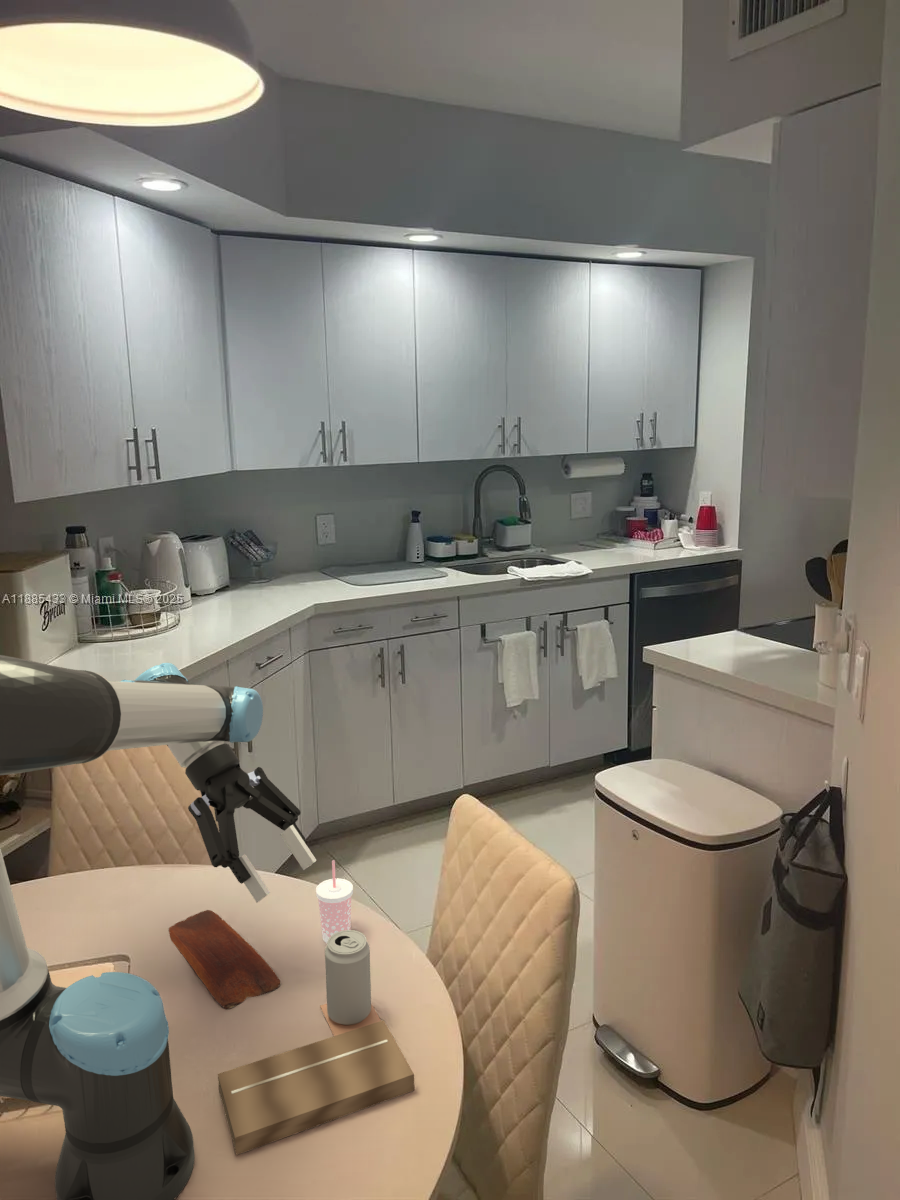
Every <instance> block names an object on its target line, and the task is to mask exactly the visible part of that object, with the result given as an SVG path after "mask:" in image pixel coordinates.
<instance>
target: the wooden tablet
mask: <svg viewBox="0 0 900 1200" xmlns="http://www.w3.org/2000/svg"><path fill="white" fill-rule="evenodd" d="M168 934H169V938H170V941H171V942H172V943H173V945H174V946H175V947H176V948H177V950H178V951H179V952H180V954H181V955H182V957H184V958H185V960H186V961H187V963H188V964H189V966H190V967H191V968H192V969H193V971H194V972H195V974H196V975H197V976H198V978H199V979H200V980H201V982H202V983H203V985H204V986H205V987H206V989H207V990H208V992H209V994H210V995H211V996H212V998H213V999H214V1000H215V1001H216V1002H217V1003H218V1004H219V1006H221V1007H222V1008H223V1009H225V1010H228V1009H232V1008H234V1007H236V1006H238V1005H240V1004H242V1003H244V1001H245V1000H246V999H247V998H255V997H256V998H257V997H259V996H263V995H266V994H270V993H271V992H273V991H275V990H277V989H278V988H279V987H280V986H281V980H280V978H279V976H277V974H276V972H275V971H274V970H273V968H272V967H271V966H270V965H269V964H268V962H266V961H265V959H264V958H263V956H261V955H260V954H259V953H258V952H257V950H256V949H255V948H254V947H253V946H252V945H251V944H249V942H247V941H246V940H245V939H244V938H243V936H241V935H240V934H239V933H238V932H237V931H236V929H233V927H231V925H230V924H228V922H226V920H224V919H223V918H222V917H221V916H220V915H219V914H217V913H216V912H214V911H213V910H210V909H206V910H202V911H200V912H198V913H196V914H193V915H191V916H188V917H186V919H183V920H181V921H178V922H176V923H175V924H173V925H171V926H170V927H169V928H168Z"/></svg>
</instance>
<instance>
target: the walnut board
mask: <svg viewBox="0 0 900 1200" xmlns="http://www.w3.org/2000/svg"><path fill="white" fill-rule="evenodd" d="M409 1064H410V1063H408V1061H407V1059H406V1057H405V1056H404V1054H403V1052H402V1050H401V1049H400V1047H399V1045H398V1042H396V1040H395V1038H394V1036H393V1034H392V1032H391V1031H390V1028H389V1027H388V1025H387V1024H386V1021H385V1020H384V1019H383V1020H381V1021H380V1022H377V1023H373V1024H370V1025H367V1026H364V1027H361V1028H358V1029H355V1030H352V1031H349V1032H346V1033H342V1034H339V1035H336V1036H333V1035H332V1036H330V1037H328V1038H324V1039H321V1040H318V1041H315V1042H312V1043H309V1044H306V1045H303V1046H299V1047H297V1048H293V1049H290V1050H288V1051H283V1052H280V1053H278V1054H275V1055H272V1056H269V1057H266V1058H263V1059H260V1060H256V1061H253V1062H249V1063H247V1064H244V1065H241V1066H238V1067H235V1068H231V1069H227V1070H225V1071H222V1072H219V1073H217V1081H218V1083H217V1084H218V1091H219V1096H220V1100H221V1099H222V1100H221V1102H222V1107H223V1110H224V1114H226V1115H225V1118H226V1121H227V1125H228V1129H229V1130H228V1131H229V1133H230V1137H231V1140H232V1144H233V1148H234V1151H235V1154H236V1156H238V1155H241V1154H243V1153H247V1152H248V1151H252V1150H254V1149H256V1148H260V1147H263V1146H265V1145H268V1144H271V1143H273V1142H277V1141H278V1140H281V1139H282V1140H283V1139H284V1138H287V1137H290V1136H293V1135H295V1134H298V1133H301V1132H303V1131H306V1130H309V1129H313V1128H315V1127H317V1126H320V1125H323V1124H325V1123H326V1124H327V1123H328V1122H331V1121H334V1120H336V1119H339V1118H342V1117H345V1116H348V1115H350V1114H354V1113H355V1112H358V1111H361V1110H362V1111H363V1110H364V1109H366V1108H369V1107H373V1106H375V1105H378V1104H380V1103H381V1104H382V1103H383V1102H386V1101H389V1100H391V1099H395V1098H397V1097H400V1096H402V1095H403V1096H404V1095H405V1094H409V1093H411V1092H413V1091H415V1074H414V1071H413V1070H412V1067H411V1066H410V1065H409Z"/></svg>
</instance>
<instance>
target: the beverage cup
mask: <svg viewBox="0 0 900 1200" xmlns="http://www.w3.org/2000/svg"><path fill="white" fill-rule="evenodd" d="M331 870H332V871H331V873H332V878H330V879H325V880H323V881H322V882H320V883H318V885H317V886H316V887H315V893H316V895H315V896H316V898H317V899H318V909H319V917H320V925H321V927H320V928H321V933H322V940H323V942H324V943H326V944H327V941H328V939H329V938H330V937H331V936H332V935H333V934H335V933H337V932H339V931H343V930H351V926H352V925H351V920H352V896H353V894H354V885H353V883H352V882H351V881H349V880H347V879H346V878H345V879H344V878H340V877H339V878H338V877H337V878H336V860H335V859H333V860H331Z"/></svg>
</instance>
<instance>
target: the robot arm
mask: <svg viewBox="0 0 900 1200" xmlns="http://www.w3.org/2000/svg"><path fill="white" fill-rule="evenodd" d="M263 704H264V703H263V700H262V697H261V695H260V694H259V692H258V691H257V690H256V689H254V688H249V687H248V688H247V687H240V686H239V685H238V686H237V685H236V686H226V685H214V684H213V685H211V684H210V685H209V684H192V683H191V684H190V683H189V680H188V679H187V677H186V676H184V675H183V673H182V672H181V671H180V669H179V668H178V667H177V666H176V665H175V664H173V663H171V662H162V663H160V664H159V665H158V664H156V665H153V666H152V667H149V668H148V669H146V670H145V671H144V672H142V673H141V674H139V675H138V676H137V677H136V678H135V679H134V680H130V679H129V680H128V679H122V680H121V681H116V680H115V681H113V680H112V681H111V680H110V681H109V680H108V679H107V678H106V677H104V676H103V675H101V674H100V673H97V672H95V671H91V670H83V669H74V668H73V669H72V668H67V667H66V668H65V667H62V666H56V665H51V664H46V663H43V662H38V661H33V660H28V659H24V658H19V657H14V656H8V655H3V654H0V776H5V775H6V776H7V775H16V774H22V773H28V772H34V771H40V770H46V769H53V768H59V767H65V766H66V767H67V766H73V765H79V764H86V763H90V762H93V761H95V760H98V759H99V758H101V757H102V756H104V755H105V754H106V753H107V752H111V751H118V750H128V749H139V748H147V747H157V746H158V747H160V746H167V747H168V749H169V751H170V752H171V754H172V755H173V757H174V758H175V760H176V762H177V763H178V764H179V766H180V767H181V768H186V769H185V772H184V774H185V775H186V777H187V778H188V780H189V781H190V783H191V785H192V786H193V788H194V789H195V790H196V791H199V792H200V794H201V796H200V797H199V796H198V797H196V798H195V800H193V801H192V802H191V804H189V805H188V807H187V809H188V812H189V813H190V814H191V816H192V817H193V818H194V819H195V821H196V824H197V826H198V827H197V828H198V830H199V832H200V835H201V838H202V841H203V844H204V846H205V849H206V852H207V855H208V858H209V861H210V863H211V866H212V867H214V868H218V867H220V866H221V867H222V868H224V869H226V868H229V869H230V870H231V873H232V875H234V877H235V878H236V880H237V882H238V883H239V884H244V886H245V887H246V889H247V890H248V892H249V894H250V895H251V897H252V898H253V899H254V901H255V902H256V903H259V902H260V901H262V900H263V899H264V898H266V897H267V896H268V895H270V894H271V892H270V889H269V888H268V887H267V886H266V883H265V882H264V880H263V879H262V878H261V876H260V874H259V873H258V871H257V870H256V868H255V866H254V865H253V864H252V862H251V860H250V859H249V857H248V856H247V855H246V853H244V854H243V855H241V856H240V851H239V843H238V836H237V835H238V834H237V831H236V823H235V816H234V814H235V812H236V811H235V810H237V809H241V808H242V807H243V808H244V809H248V810H252V811H253V812H254V813H257V815H260V816H261V817H262V818H264V819H266V820H267V821H268V822H270V823H271V824H273V825H275V826H276V827H277V828H279V829H280V830H282V831H283V832H281V833H280V834H279V836H281V838H282V840H283V842H284V843H285V845H286V846H287V847H288V849H289V851H290V852H291V853H292V855H293V856H294V858H295V859H296V861H297V862H298V864H299V866H300V868H301V869H302V870H303V871H305V870H306V869H308V868H309V867H310V866H312V865H313V864H315V863H316V861H317V859H316V857H315V856H314V854H313V853H312V852H311V849H310V848H309V847H308V845H307V844H306V837H305V836H304V834H303V833H302V831H301V830H300V828H299V827H298V825H297V823H296V822H298V820H299V816H300V815H301V810H300V808H299V807H298V806H296V804H295V803H293V802H292V800H290V799H289V798H288V796H286V795H285V794H284V793H283V792H282V791H281V790H280V789H279V788H278V787H277V786H276V785H275V784H274V783H273V782H272V781H271V779H269V778H268V776H267V774H266V773H265V771H264V769H263V768H262V767H260V766H258V767H256V768H255V769H254V770H253V771H251V772H248V773H247V772H246V771H244V770H243V769H242V768H241V765H240V759H239V758H238V756H237V753H235V751H234V749H232V747H231V745H230V744H229V743H232V744H233V743H249V742H251V741H253V740H254V739H255V738H256V737H257V736H258V734H259V733H260V730H261V726H262V723H263V715H264V714H263V713H264V705H263ZM225 742H229V743H225ZM210 806H211V807H212V808H213V811H214V814H213V811H212V809H211V808H210ZM214 816H215V817H214ZM216 822H217V823H216ZM19 916H20V915H19V913H18V909H17V905H16V901H15V897H14V893H13V891H12V887H11V883H10V879H9V875H8V871H7V867H6V864H5V860H4V856H3V853H2V849H1V847H0V1097H3V1098H11V1099H16V1100H22V1101H29V1102H34V1103H38V1104H44V1105H45V1104H46V1105H52V1106H56V1107H59V1108H60V1109H61V1111H62V1115H63V1122H64V1128H65V1129H64V1131H65V1133H64V1134H65V1135H64V1138H63V1142H62V1145H61V1150H60V1153H59V1157H58V1162H57V1166H56V1169H55V1174H54V1188H55V1196H56V1200H175V1199H177V1197H178V1196H179V1195H180V1194H181V1192H182V1191H183V1190H184V1188H185V1186H186V1184H187V1183H188V1181H189V1179H190V1178H191V1175H192V1172H193V1169H194V1165H195V1157H196V1156H195V1145H194V1137H193V1133H192V1128H191V1126H190V1125H189V1122H188V1121H187V1119H186V1117H185V1116H184V1113H183V1112H182V1110H181V1109H180V1106H179V1105H178V1103H177V1101H176V1100H175V1098H174V1091H173V1080H172V1079H173V1078H172V1067H171V1065H172V1064H171V1057H170V1044H169V1034H170V1029H169V1021H168V1019H167V1016H166V1013H165V1007H164V1002H163V999H162V997H161V995H160V993H159V991H158V989H156V987H155V986H154V985H153V984H152V983H151V982H149V981H148V980H147V979H145V978H143V977H141V976H138V975H137V974H133V973H130V972H129V973H127V972H122V971H121V972H120V971H107V972H106V971H105V972H102V973H101V974H100V975H99V976H97V977H96V976H94V975H93V974H91V975H88V976H86V977H83V978H81V979H78V980H76V981H74V982H73V983H72V984H70V985H69V986H67V987H65V986H64V987H63V986H57V985H55V984H54V983H53V982H52V978H51V975H50V972H49V967H48V963H47V961H46V960H47V959H45V957H44V956H43V954H41V953H40V952H39V951H37V950H36V949H33V948H29V947H28V946H27V943H26V938H25V936H24V931H23V927H22V924H21V919H20V917H19Z"/></svg>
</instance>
